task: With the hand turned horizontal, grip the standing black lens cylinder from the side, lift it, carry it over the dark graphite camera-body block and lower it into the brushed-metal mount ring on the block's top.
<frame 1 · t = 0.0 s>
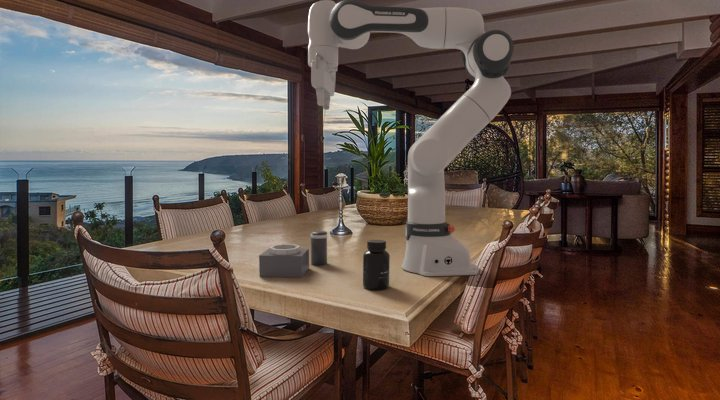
hand: (323, 107, 126), 48 cm above the table, tool pointing down, fingers open, 8 cm apart
camera body block: (285, 272, 123), on the table
supplement bottle: (376, 287, 109), on the table
lens: (319, 263, 134), on the table
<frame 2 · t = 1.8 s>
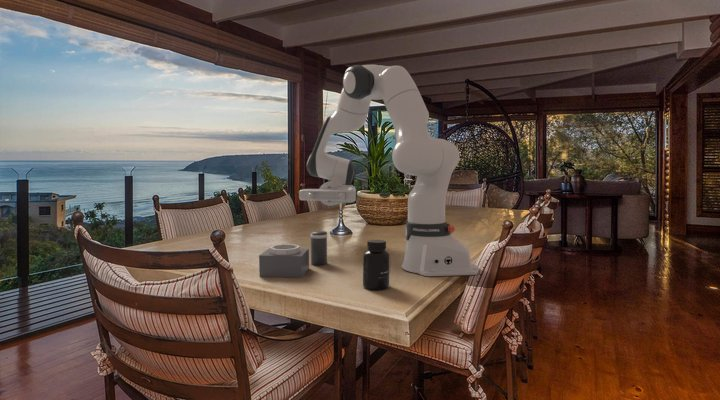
hand: (324, 196, 144), 20 cm above the table, tool horizontal, fingers open, 8 cm apart
nothing on the table moved.
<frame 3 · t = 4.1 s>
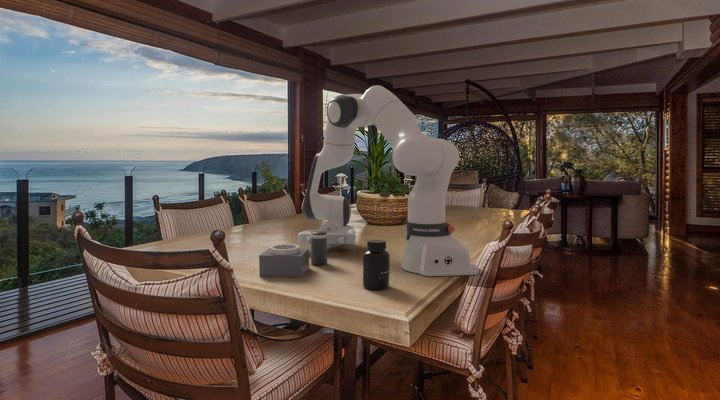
hand: (323, 241, 141), 5 cm above the table, tool horizontal, fingers open, 8 cm apart
nothing on the table moved.
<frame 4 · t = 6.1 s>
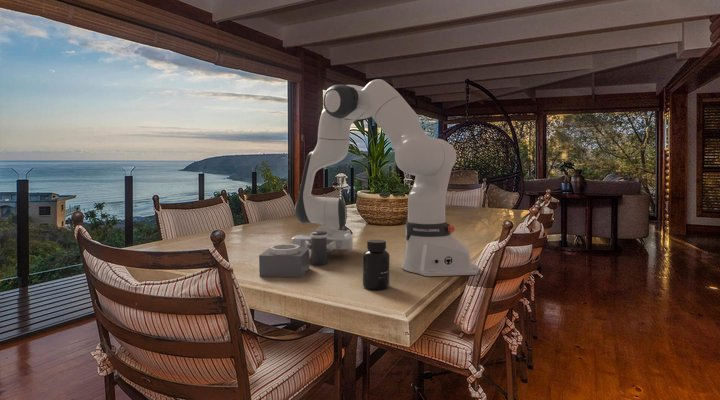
hand: (318, 246, 132), 6 cm above the table, tool horizontal, fingers closed on lens, 5 cm apart
lens: (319, 263, 134), on the table, touching gripper
everything else where it was.
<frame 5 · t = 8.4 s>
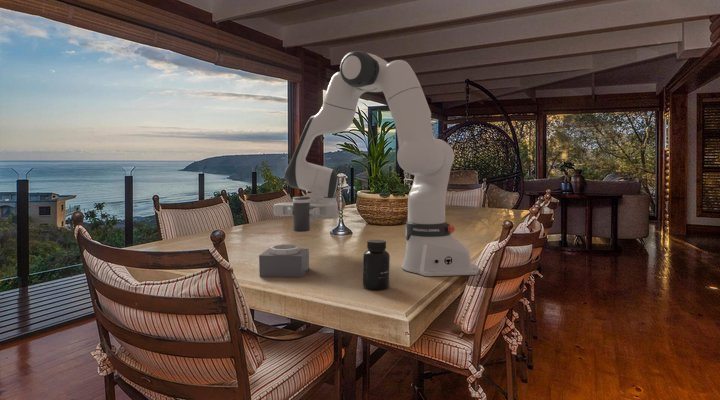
hand: (300, 212, 126), 17 cm above the table, tool horizontal, fingers closed on lens, 5 cm apart
lens: (301, 230, 128), point 11 cm above the table, touching gripper
everything else where it was.
when the fingers open (12 cm above the table, at t = 10.3 s): lens stays where it is, resting on camera body block.
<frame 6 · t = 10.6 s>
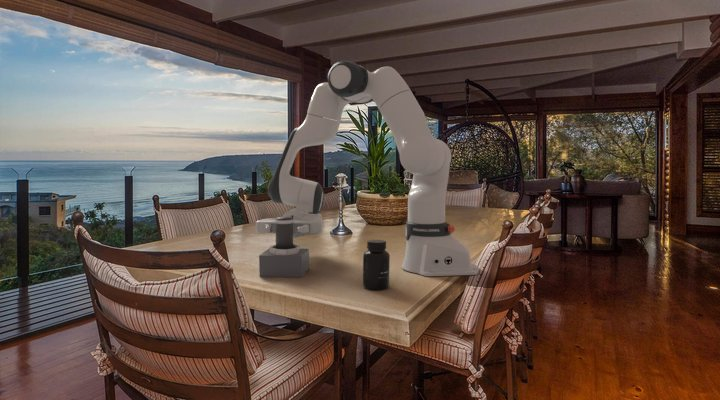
hand: (283, 230, 121), 12 cm above the table, tool horizontal, fingers open, 8 cm apart
lens: (284, 251, 123), point 6 cm above the table, touching camera body block
everything else where it was.
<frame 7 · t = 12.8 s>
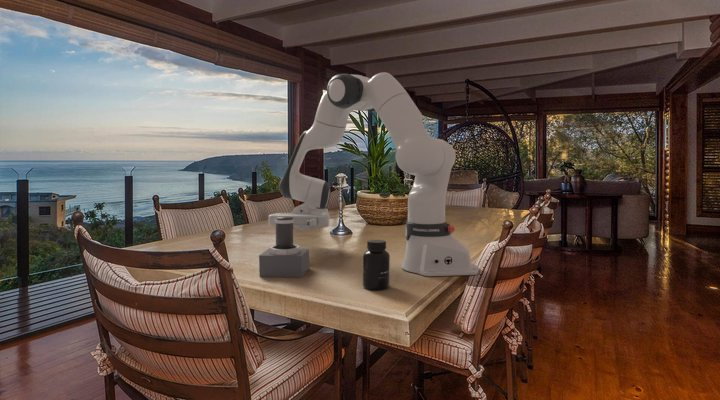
hand: (294, 223, 134), 13 cm above the table, tool horizontal, fingers open, 8 cm apart
nothing on the table moved.
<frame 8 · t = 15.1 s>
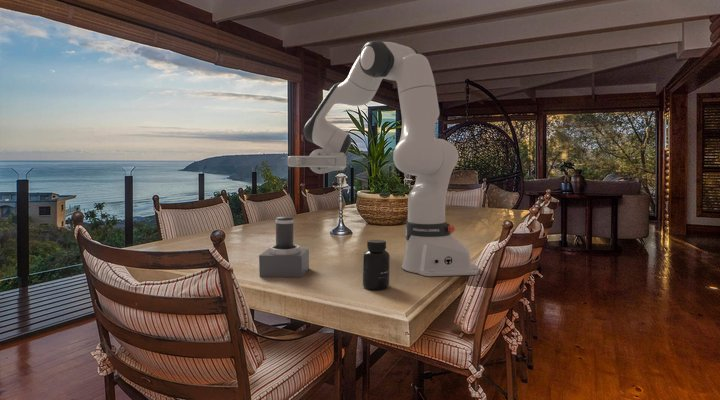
hand: (313, 161, 139), 32 cm above the table, tool horizontal, fingers open, 8 cm apart
nothing on the table moved.
at the end: lens 0.1 cm off-centre on the camera body block, point 6.0 cm above the camera body block's base; lens tilted 1°; the gripper is holding nothing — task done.
